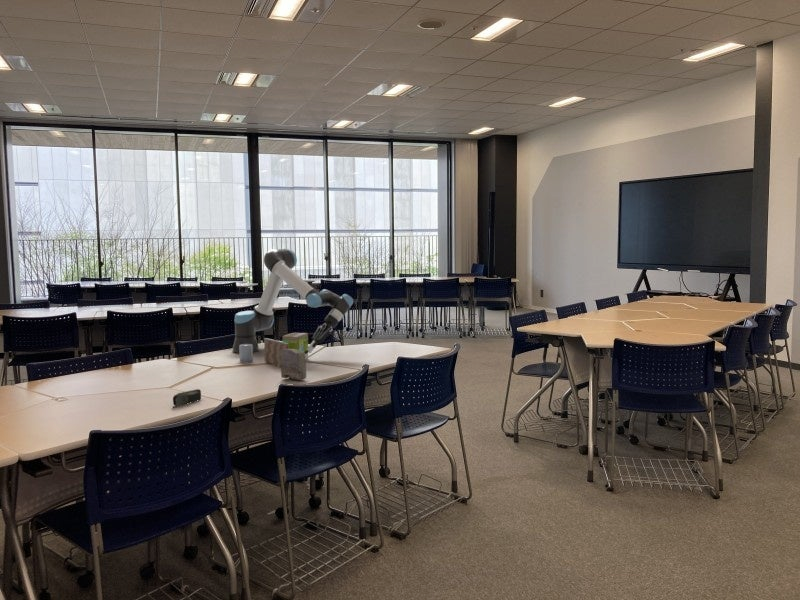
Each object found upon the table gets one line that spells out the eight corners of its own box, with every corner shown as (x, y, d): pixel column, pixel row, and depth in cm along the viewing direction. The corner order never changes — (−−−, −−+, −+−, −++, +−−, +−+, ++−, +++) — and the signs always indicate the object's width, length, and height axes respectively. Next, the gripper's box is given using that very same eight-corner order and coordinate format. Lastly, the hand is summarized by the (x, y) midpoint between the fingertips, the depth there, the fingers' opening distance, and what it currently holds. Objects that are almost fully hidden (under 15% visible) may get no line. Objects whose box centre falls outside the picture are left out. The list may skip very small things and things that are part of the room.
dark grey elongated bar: (197, 388, 259) (168, 395, 245) (202, 388, 257) (174, 396, 244) (197, 399, 259) (169, 407, 246) (202, 400, 258) (174, 408, 244)
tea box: (300, 364, 331) (299, 336, 330) (281, 363, 333) (281, 336, 331) (308, 358, 346) (308, 332, 344) (291, 358, 347) (290, 332, 346)
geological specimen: (306, 379, 293) (306, 348, 292) (298, 382, 288) (298, 350, 286) (288, 377, 298) (287, 346, 297) (280, 380, 293) (279, 348, 291)
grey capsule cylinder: (237, 361, 341) (237, 344, 340) (249, 359, 345) (249, 343, 344) (243, 363, 335) (242, 346, 334) (255, 361, 340) (254, 345, 339)
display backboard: (264, 361, 338) (263, 338, 337) (267, 361, 339) (266, 338, 338) (286, 368, 320) (285, 343, 319) (289, 368, 321) (288, 343, 320)
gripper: (344, 323, 347) (319, 357, 338) (331, 321, 357) (306, 353, 348) (335, 315, 343) (310, 348, 334) (323, 313, 353) (297, 345, 344)
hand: (308, 351), depth 341 cm, fingers closed
